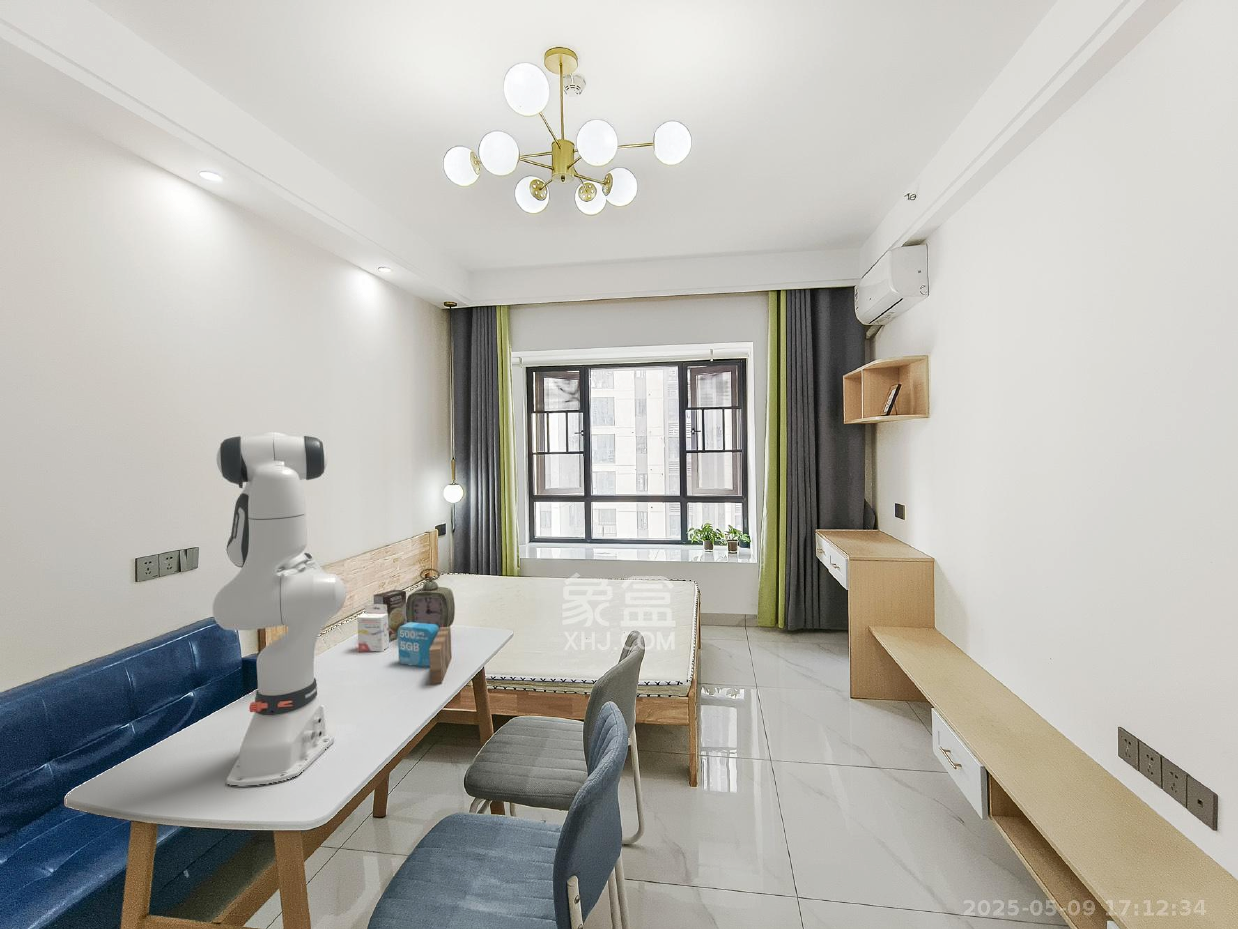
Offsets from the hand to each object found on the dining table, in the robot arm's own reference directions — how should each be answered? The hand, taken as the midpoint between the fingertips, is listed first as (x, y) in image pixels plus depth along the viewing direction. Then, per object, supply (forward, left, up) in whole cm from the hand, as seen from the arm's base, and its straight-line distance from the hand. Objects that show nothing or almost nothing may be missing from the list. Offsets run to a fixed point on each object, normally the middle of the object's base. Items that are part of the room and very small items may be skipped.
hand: (320, 600), depth 171 cm
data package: (+4, -27, -23) cm, 35 cm away
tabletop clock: (+26, -27, -23) cm, 44 cm away
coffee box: (+31, -12, -23) cm, 40 cm away
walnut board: (-3, -34, -23) cm, 41 cm away
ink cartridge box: (+20, -9, -23) cm, 32 cm away
